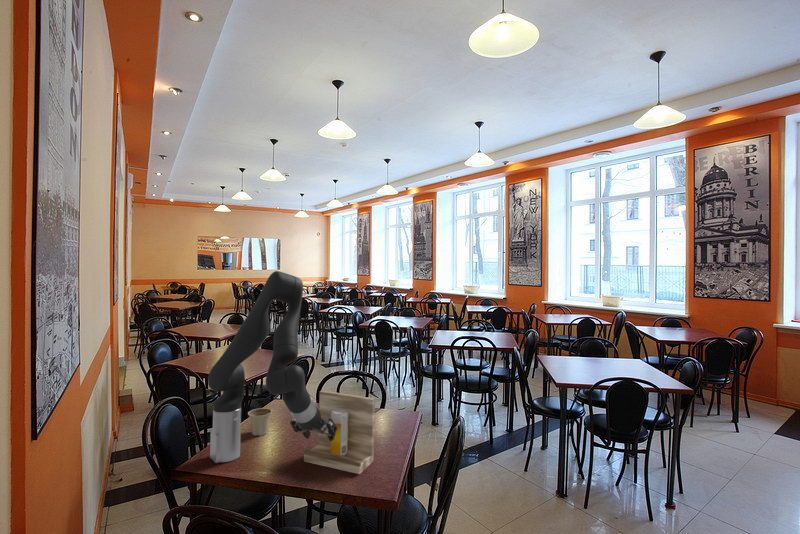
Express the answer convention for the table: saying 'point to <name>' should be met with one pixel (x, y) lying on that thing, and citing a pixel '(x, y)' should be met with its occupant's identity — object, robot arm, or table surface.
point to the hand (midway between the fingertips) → (320, 437)
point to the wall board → (358, 433)
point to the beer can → (340, 433)
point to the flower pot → (260, 420)
